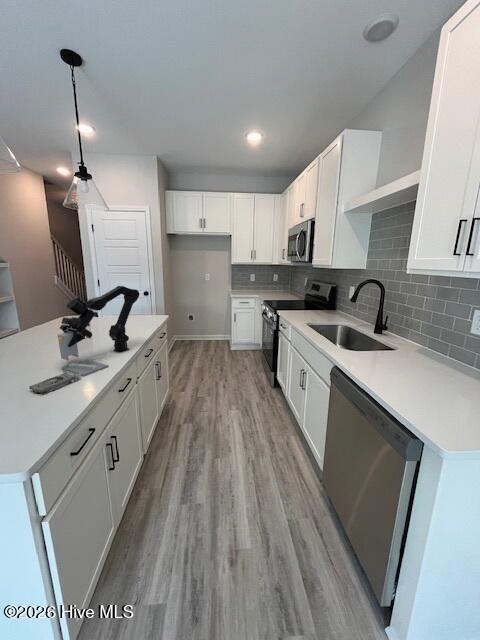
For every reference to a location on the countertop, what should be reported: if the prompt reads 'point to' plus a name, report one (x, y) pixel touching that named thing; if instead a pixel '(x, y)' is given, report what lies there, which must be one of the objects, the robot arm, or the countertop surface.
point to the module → (63, 344)
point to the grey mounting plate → (85, 367)
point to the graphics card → (56, 382)
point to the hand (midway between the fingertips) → (65, 345)
